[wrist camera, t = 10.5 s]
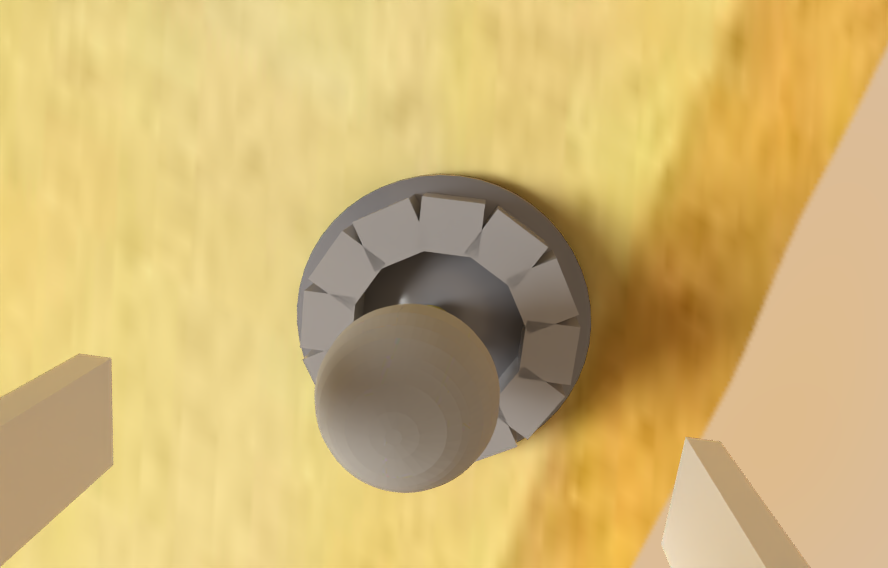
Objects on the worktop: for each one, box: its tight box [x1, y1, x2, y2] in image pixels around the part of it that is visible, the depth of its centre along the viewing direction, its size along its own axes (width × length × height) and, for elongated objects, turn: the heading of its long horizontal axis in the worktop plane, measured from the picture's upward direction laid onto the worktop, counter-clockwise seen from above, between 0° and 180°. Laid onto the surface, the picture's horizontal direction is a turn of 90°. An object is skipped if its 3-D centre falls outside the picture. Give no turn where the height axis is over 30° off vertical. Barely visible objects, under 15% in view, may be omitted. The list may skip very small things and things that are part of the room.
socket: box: [297, 174, 591, 461], centre depth 26 cm, size 12×12×3 cm
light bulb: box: [315, 304, 500, 493], centre depth 21 cm, size 6×5×10 cm
